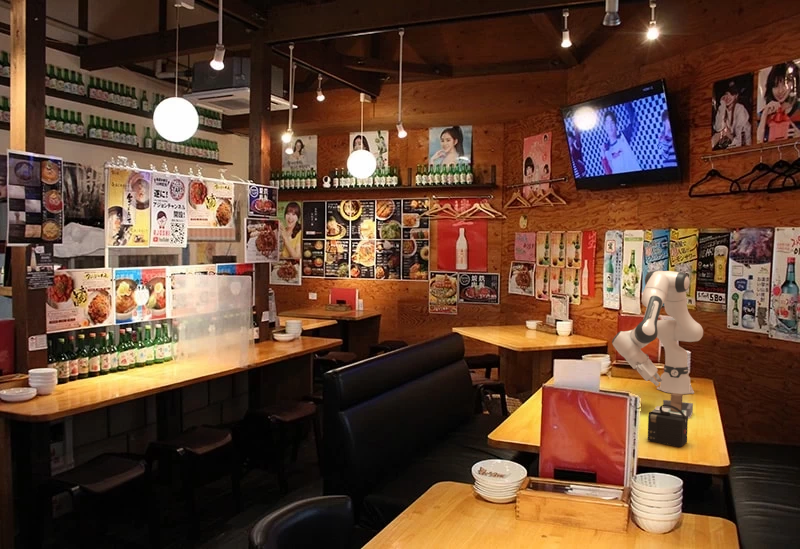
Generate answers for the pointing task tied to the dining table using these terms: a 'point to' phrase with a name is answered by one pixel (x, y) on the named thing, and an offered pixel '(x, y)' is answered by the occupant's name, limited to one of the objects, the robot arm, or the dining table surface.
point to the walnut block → (676, 401)
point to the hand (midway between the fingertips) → (659, 383)
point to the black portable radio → (667, 427)
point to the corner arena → (686, 409)
